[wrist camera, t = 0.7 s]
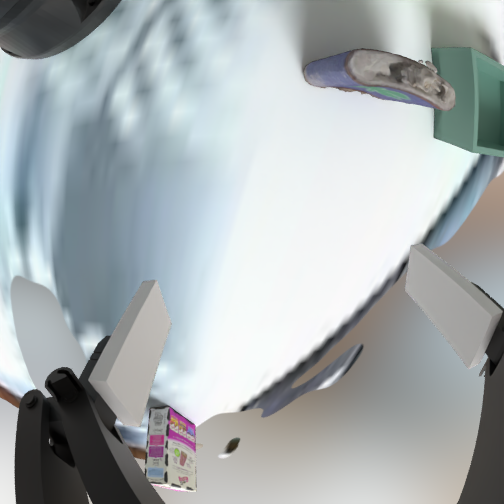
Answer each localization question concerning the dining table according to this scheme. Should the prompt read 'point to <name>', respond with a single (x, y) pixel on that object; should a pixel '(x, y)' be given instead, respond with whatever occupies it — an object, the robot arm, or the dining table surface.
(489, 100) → the open box
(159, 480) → the candy bar box
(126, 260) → the dining table surface
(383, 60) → the flask
